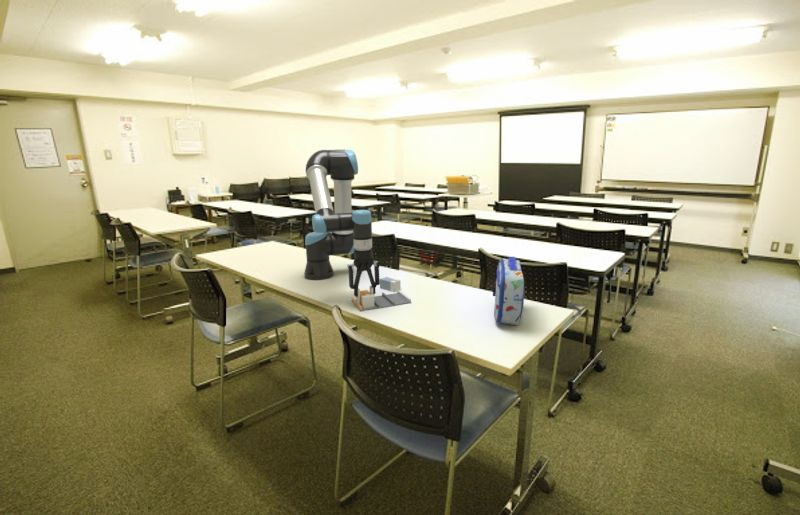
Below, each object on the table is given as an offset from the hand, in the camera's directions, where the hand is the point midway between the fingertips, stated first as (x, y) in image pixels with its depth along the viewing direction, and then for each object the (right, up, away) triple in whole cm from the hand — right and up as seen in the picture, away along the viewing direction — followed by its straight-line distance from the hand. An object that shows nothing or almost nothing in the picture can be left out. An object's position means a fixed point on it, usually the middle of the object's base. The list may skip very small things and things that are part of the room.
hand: (365, 302), depth 162 cm
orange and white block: (0, -1, 0) cm, 1 cm away
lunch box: (+56, -4, -13) cm, 58 cm away
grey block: (+10, +4, +20) cm, 22 cm away
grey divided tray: (+6, 0, +3) cm, 7 cm away
